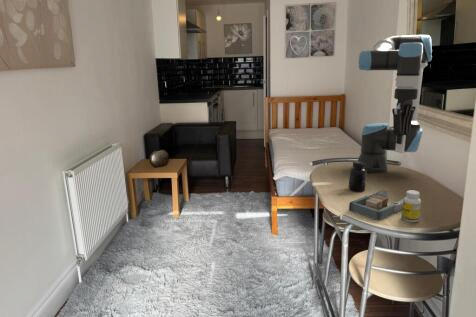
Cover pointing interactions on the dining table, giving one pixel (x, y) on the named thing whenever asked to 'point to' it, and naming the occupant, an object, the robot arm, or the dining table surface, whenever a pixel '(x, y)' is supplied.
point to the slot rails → (384, 194)
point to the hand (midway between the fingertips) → (399, 152)
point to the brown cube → (383, 199)
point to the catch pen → (370, 209)
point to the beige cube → (374, 203)
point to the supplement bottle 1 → (357, 177)
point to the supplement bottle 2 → (411, 206)
